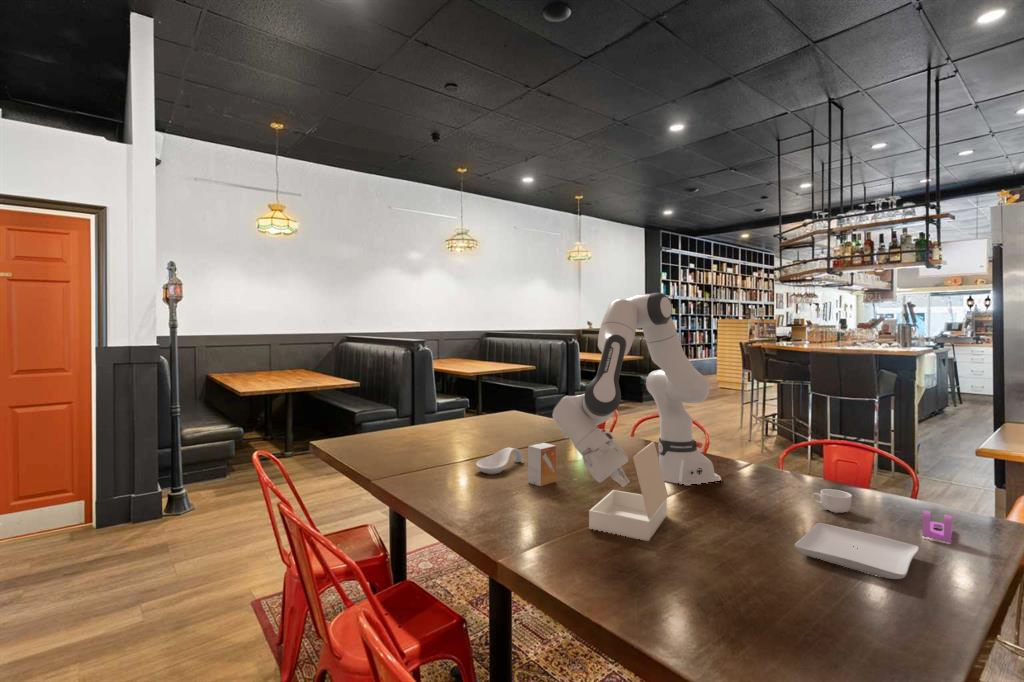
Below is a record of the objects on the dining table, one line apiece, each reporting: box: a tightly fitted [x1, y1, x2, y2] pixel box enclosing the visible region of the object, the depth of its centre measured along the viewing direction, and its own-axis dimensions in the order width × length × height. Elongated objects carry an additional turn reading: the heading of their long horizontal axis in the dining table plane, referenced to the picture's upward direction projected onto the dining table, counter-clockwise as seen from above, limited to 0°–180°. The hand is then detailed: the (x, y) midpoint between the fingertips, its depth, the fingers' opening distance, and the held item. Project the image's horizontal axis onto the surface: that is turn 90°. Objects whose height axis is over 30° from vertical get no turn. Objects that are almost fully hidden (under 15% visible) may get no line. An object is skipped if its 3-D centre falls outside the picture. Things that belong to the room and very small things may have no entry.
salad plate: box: [794, 522, 920, 580], centre depth 118 cm, size 21×21×3 cm
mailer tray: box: [588, 489, 668, 542], centre depth 139 cm, size 16×20×5 cm
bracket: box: [921, 510, 953, 544], centre depth 132 cm, size 13×6×7 cm, turn 137°
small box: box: [527, 442, 557, 487], centre depth 176 cm, size 8×6×13 cm
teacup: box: [811, 488, 853, 513], centre depth 149 cm, size 10×8×5 cm
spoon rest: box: [475, 447, 525, 475], centre depth 193 cm, size 24×12×7 cm, turn 144°
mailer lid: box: [632, 441, 669, 520], centre depth 136 cm, size 16×20×1 cm
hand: (626, 484), depth 140 cm, fingers closed
